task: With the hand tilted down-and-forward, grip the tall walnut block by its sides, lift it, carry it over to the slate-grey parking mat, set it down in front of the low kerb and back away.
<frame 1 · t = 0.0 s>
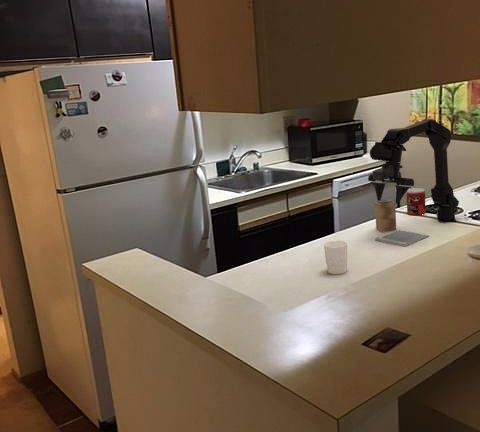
hand: (387, 202, 214), 15 cm above the worktop, tool pointing down, fingers open, 9 cm apart
bay: (403, 238, 218), on the worktop
white cup: (337, 271, 192), on the worktop
canned food: (416, 214, 250), on the worktop
trolley block: (386, 229, 232), on the worktop
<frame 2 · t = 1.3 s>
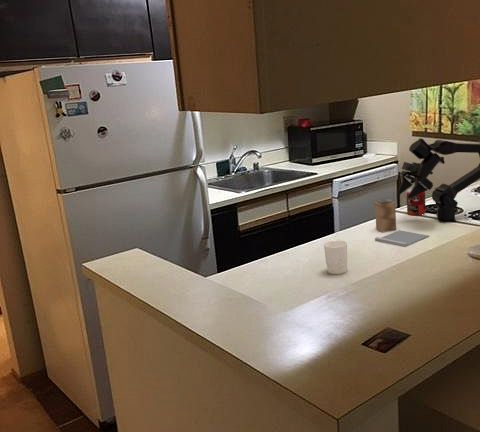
hand: (403, 195, 229), 13 cm above the worktop, tool tilted 45°, fingers open, 9 cm apart
nothing on the worktop moved.
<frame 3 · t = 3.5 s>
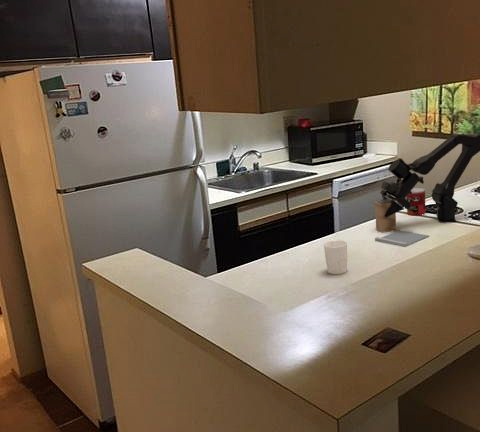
hand: (382, 215, 230), 7 cm above the worktop, tool tilted 45°, fingers closed on trolley block, 5 cm apart
trolley block: (386, 229, 232), on the worktop, touching gripper
everything else where it was.
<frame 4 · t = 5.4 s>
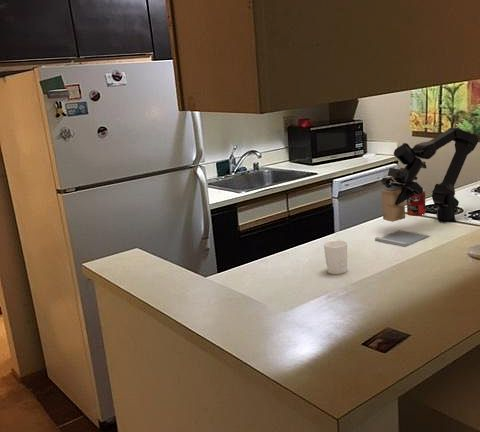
hand: (390, 203, 219), 14 cm above the worktop, tool tilted 45°, fingers closed on trolley block, 5 cm apart
trolley block: (394, 218, 222), point 7 cm above the worktop, touching gripper
everything else where it was.
when the fingers open (8 cm above the worktop, at t = 7.2 s): trolley block stays where it is, resting on bay.
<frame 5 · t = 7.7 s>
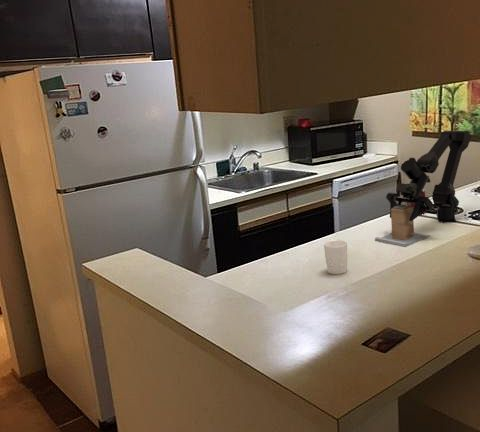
hand: (400, 219, 216), 8 cm above the worktop, tool tilted 45°, fingers open, 9 cm apart
trolley block: (403, 237, 218), resting on bay
everything else where it was.
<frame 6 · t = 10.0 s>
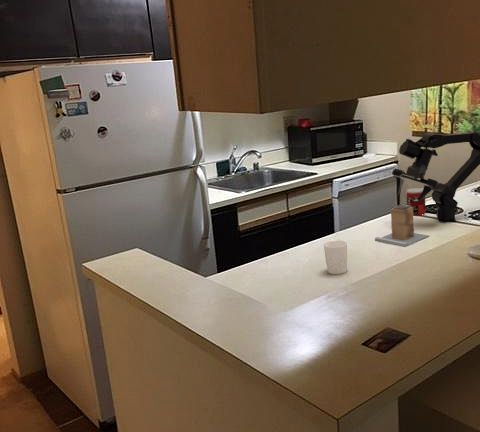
hand: (407, 198, 228), 13 cm above the worktop, tool tilted 30°, fingers open, 9 cm apart
nothing on the worktop moved.
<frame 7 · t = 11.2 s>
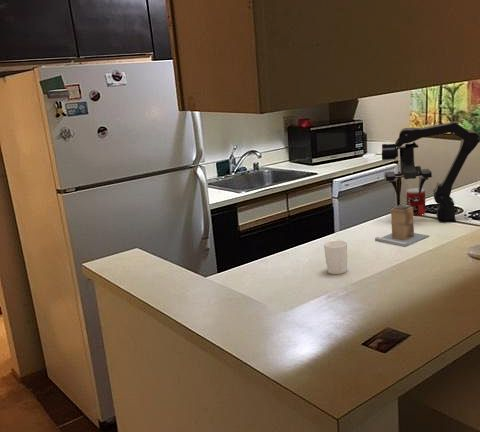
hand: (408, 194, 237), 12 cm above the worktop, tool pointing down, fingers open, 9 cm apart
nothing on the worktop moved.
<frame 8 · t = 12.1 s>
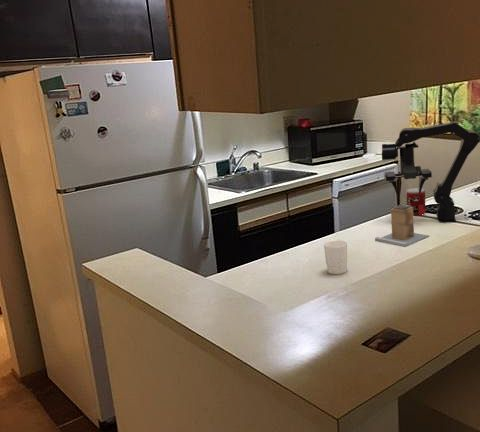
hand: (408, 194, 237), 12 cm above the worktop, tool pointing down, fingers open, 9 cm apart
nothing on the worktop moved.
at the end: trolley block inside the target area on the bay (0.0 cm from its centre), point 0.4 cm above the bay's base; trolley block tilted 0°; the gripper is holding nothing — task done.
